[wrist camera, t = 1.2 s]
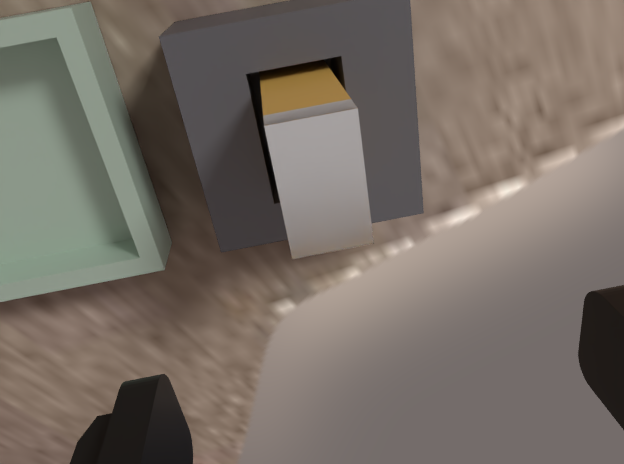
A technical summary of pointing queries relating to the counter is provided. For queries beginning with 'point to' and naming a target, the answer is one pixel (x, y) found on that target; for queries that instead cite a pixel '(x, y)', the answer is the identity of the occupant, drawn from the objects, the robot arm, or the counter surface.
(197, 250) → the counter surface
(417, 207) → the block
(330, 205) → the block
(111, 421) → the robot arm
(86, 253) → the parts tray
